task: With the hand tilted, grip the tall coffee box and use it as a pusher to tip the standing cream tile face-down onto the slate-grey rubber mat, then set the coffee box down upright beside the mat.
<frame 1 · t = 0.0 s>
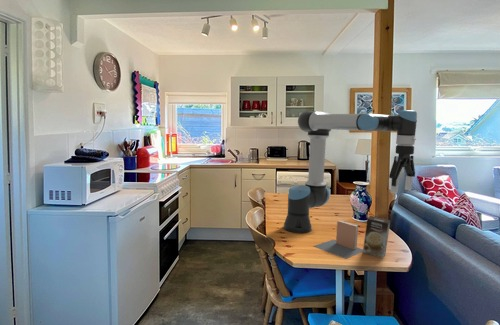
hand: (401, 191, 152), 28 cm above the table, tool pointing down, fingers open, 13 cm apart
tile: (346, 245, 158), resting on mat
coffee box: (374, 253, 150), on the table, touching mat
mat: (339, 249, 155), on the table
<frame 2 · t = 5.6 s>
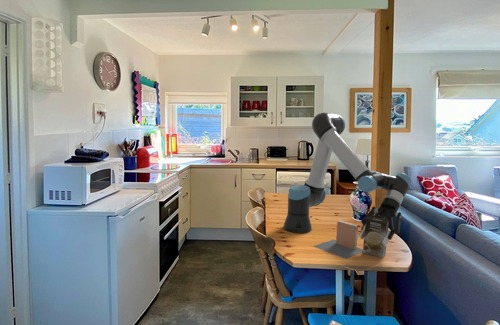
hand: (372, 241, 147), 7 cm above the table, tool tilted 45°, fingers closed on coffee box, 10 cm apart
coffee box: (374, 253, 150), on the table, touching gripper, mat
everything else where it was.
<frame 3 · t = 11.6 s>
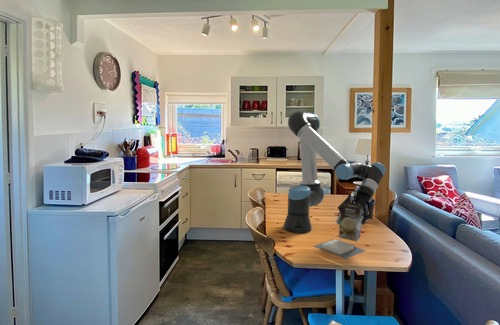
hand: (347, 226, 156), 10 cm above the table, tool tilted 45°, fingers closed on coffee box, 10 cm apart
tile: (344, 244, 158), point 1 cm above the table, tilted 90°, touching mat
coffee box: (349, 238, 159), point 4 cm above the table, touching gripper
when the fingers open (8 cm above the table, at t = 18.8 s): coffee box drops 2 cm, on the table.
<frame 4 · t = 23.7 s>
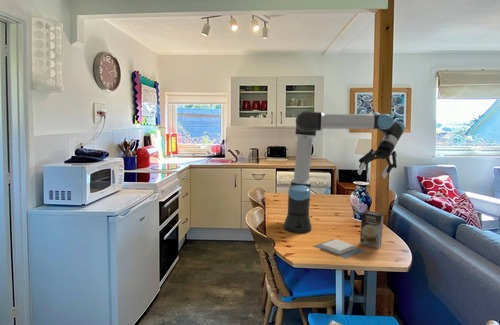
hand: (370, 174, 170), 33 cm above the table, tool tilted 45°, fingers open, 13 cm apart
coffee box: (370, 245, 161), on the table
everything else where it was.
at the end: tile tilted 90°; tile inside the target area (0.8 cm from its centre), point 1.4 cm above the table; coffee box inside the target area (0.1 cm from its centre), on the table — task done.
